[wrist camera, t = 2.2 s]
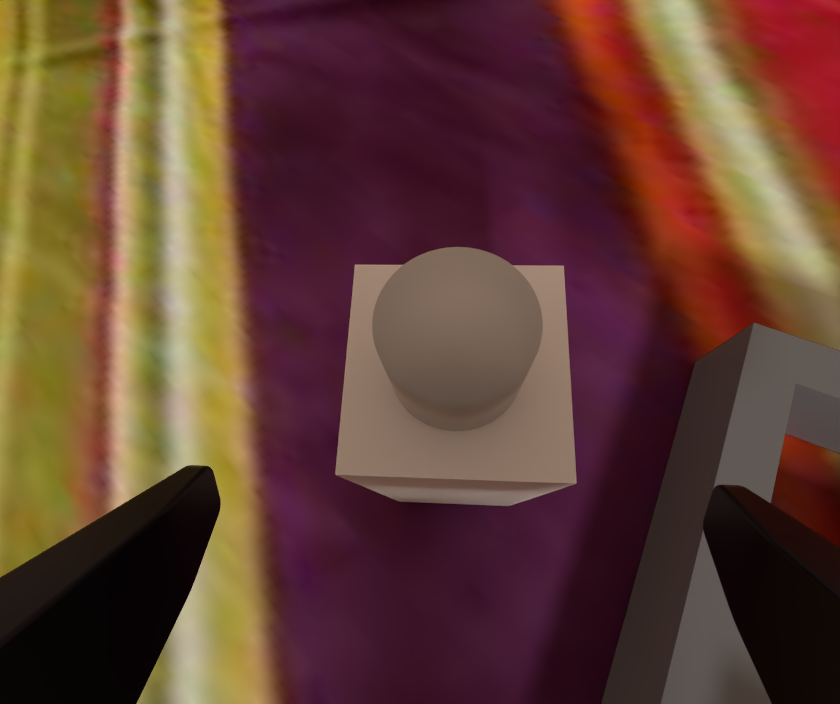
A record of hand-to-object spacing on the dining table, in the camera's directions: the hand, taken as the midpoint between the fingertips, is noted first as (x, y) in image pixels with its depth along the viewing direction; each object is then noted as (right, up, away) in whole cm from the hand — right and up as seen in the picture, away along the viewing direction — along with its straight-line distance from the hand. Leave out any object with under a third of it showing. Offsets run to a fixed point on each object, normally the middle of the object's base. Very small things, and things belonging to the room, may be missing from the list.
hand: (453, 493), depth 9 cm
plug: (+1, -1, +10) cm, 10 cm away
